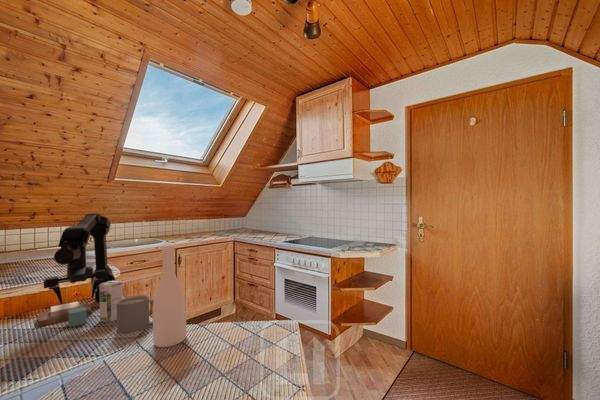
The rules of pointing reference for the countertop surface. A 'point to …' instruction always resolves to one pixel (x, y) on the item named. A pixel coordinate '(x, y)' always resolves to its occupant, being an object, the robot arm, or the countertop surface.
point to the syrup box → (110, 300)
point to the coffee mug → (133, 313)
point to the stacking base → (58, 318)
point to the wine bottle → (169, 305)
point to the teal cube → (77, 316)
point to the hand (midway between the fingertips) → (77, 300)
